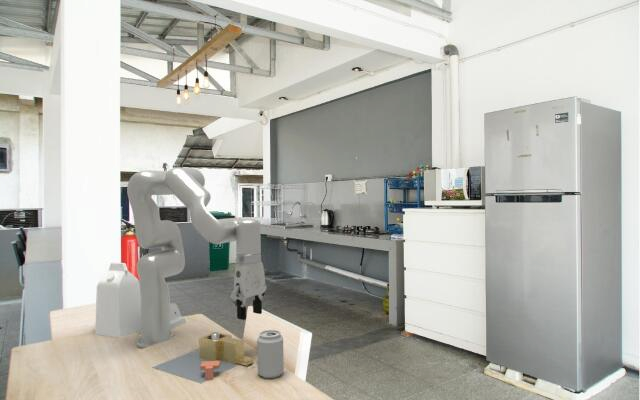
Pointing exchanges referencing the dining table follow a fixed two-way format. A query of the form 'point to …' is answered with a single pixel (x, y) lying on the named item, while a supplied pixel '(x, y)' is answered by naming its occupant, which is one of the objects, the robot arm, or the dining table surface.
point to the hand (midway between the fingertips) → (249, 315)
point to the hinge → (175, 316)
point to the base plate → (191, 367)
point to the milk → (118, 302)
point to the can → (270, 354)
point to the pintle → (215, 336)
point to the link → (223, 349)
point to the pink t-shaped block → (209, 368)
